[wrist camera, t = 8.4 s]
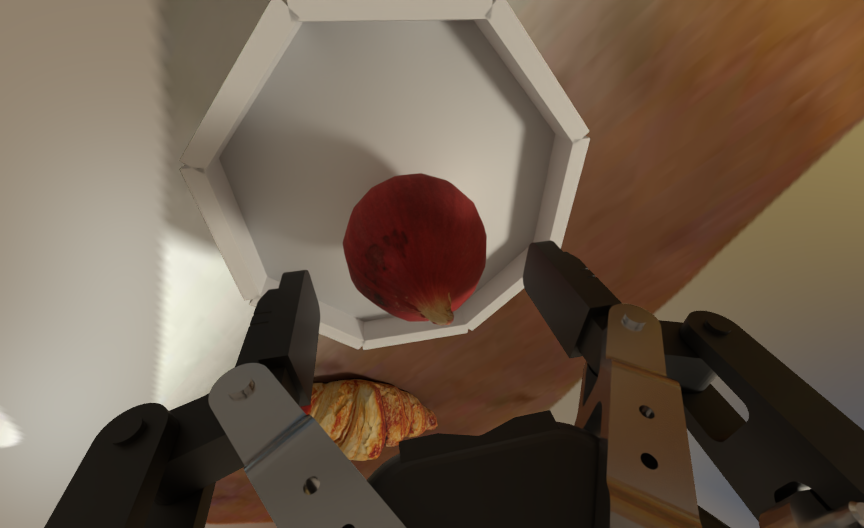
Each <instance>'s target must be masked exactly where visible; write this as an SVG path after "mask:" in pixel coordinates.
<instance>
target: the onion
mask: <svg viewBox="0 0 864 528" xmlns="http://www.w3.org/2000/svg"><path fill="white" fill-rule="evenodd" d="M486 241H487V235H486V232H485V228H484V225H483V222H482V220H481V218H480V216H479V213H478V211H477V209H476V207H475V204H474V202H473V201H471V200H470V199H469V198H468V197H467V196H466V195H465V194H463V193H462V192H461V191H460V190H459V189H458V188H457V187H456V186H454V185H453V184H452V183H450V182H449V181H447V180H444V179H440V178H437V177H433V176H430V175H426V174H423V173H418V174H408V175H398V176H394V177H392V178H390V179H388V180H386V181H384V182H382V183H380V184H378V185H376V186H374V187H372V188H371V189H370V190H369V191H368V192H367V193H366V194H365V195H364V196H363V198H362V199H361V200H360V201H359V202H358V203H357V204H356V205H355V206H354V208H353V210H352V213H351V215H350V218H349V222H348V225H347V229H346V232H345V236H344V239H343V249H344V254H345V258H346V262H347V266H348V270H349V273H350V277H351V280H352V282H353V284H354V286H355V287H356V289H357V290H358V291H359V292H360V293H361V294H362V295H363V296H364V297H366V298H367V299H368V300H370V301H371V302H372V303H374V304H375V305H376V306H378V307H380V308H381V309H383V310H384V311H386V312H387V313H389V314H391V315H393V316H395V317H398V318H400V319H403V320H406V321H409V322H421V321H429V320H430V321H431V322H432V323H433V324H437V325H441V326H442V325H449V324H451V323H452V322H453V320H454V314H453V311H455V310H457V309H458V308H459V307H460V306H461V305H462V304H463V303H464V302H465V301H466V300H467V299H468V298H469V297H470V296H471V295H472V293H473V292H474V291H475V289H476V286H477V284H478V282H479V280H480V278H481V275H482V273H483V271H484V268H485V264H486Z"/></svg>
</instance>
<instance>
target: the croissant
mask: <svg viewBox="0 0 864 528" xmlns="http://www.w3.org/2000/svg"><path fill="white" fill-rule="evenodd" d="M300 408H301V409H302V410H303V411H304V413H305V414H306V415H308V414H309V415H311V416H312V417H313V418H314V419H315V420H316V421H317V422H318V423H319V425H320V426H321V427H322V428H323V429H324V431H325V432H326V433H327V434H328V435H329V436H330V438H331V439H332V440H333V441H334V442H335V444H336V445H337V446H338V447H339V448H340V450H341V451H342V452H343V453H344V454H345V455H346V457H347V458H348V459H349V460H360V461H365V460H368V459H376V458H377V457H379V455H380V453H381V451H382V449H383V447H384V446H387V447H388V446H390V447H393V446H396V445H398V444H399V441H402V439H403V438H404V437H406V436H408V437H414V436H418V435H420V434H422V433H423V432H424V431H425V430H433V429H435V428H436V426H437V425H438V423H437V419H436V416H435V415H434V413H433V412H432V411H431V410H429V409H428V408H426V407H425V406H423V405H422V404H421V403H420V402H419V400H418V399H417V398H416V397H414V396H413V395H412V394H409V393H408V392H405V391H401V390H400V389H398V388H397V387H395V386H393V385H389V384H383V383H375V382H372V381H366V380H361V379H351V380H340V381H334V382H331V383H328V384H323V383H313V387H312V396H311V404H310V405H306V406H301V407H300Z"/></svg>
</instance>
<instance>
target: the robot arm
mask: <svg viewBox="0 0 864 528" xmlns="http://www.w3.org/2000/svg"><path fill="white" fill-rule="evenodd" d="M523 285H524V288H525V290H526V292H527V293H528V295H529V296H530V298H531V300H532V301H533V303H534V304H535V306H536V307H537V309H538V310H539V312H540V313H541V315H542V316H543V318H544V320H545V321H546V323H547V324H548V326H549V327H550V329H551V330H552V332H553V333H554V335H555V336H556V338H557V340H558V341H559V343H560V344H561V346H562V347H563V349H564V350H565V352H566V353H567V355H568V356H569V358H574V357H580V356H583V357H584V358H585V360H586V363H585V365H584V369H583V377H582V385H581V393H580V402H579V408H578V414H577V419H576V422H575V425H574V426H573V425H570V424H566V423H561V422H556V421H555V419H554V417H553V415H552V414H551V411H550V410H548V411H543V412H539V413H534V414H529V415H524V416H519V417H515V418H513V419H511V420H509V421H507V422H505V423H504V424H502V425H500V426H498V427H496V428H494V429H493V430H491V431H489V432H487V433H485V434H483V435H480V436H470V435H454V434H439V433H438V434H433V435H428V436H423V437H418V438H413V439H409V440H404V441H399V450H400V453H399V454H398V455H396V456H394V457H392V458H390V459H389V460H388V461H386V462H385V463H383V464H382V465H381V466H380V467H379V468H378V469H377V470H375V471H374V472H373V474H372V475H371V476H370V477H369V478H368V479H367V480H366V479H365V478H364V477H363V476H362V474H361V473H360V472H359V471H358V470H357V469H356V467H355V466H354V465H353V464H352V463H351V461H350V460H349V459H348V458H347V457H346V455H345V454H344V453H343V452H342V451H341V450H340V448H339V447H338V446H337V445H336V444H335V442H334V441H333V440H332V439H331V438H330V436H329V435H328V434H327V433H326V432H325V431H324V429H323V428H322V427H321V426H320V425H319V423H318V422H317V421H316V420H315V419H314V418H313V417H312V416H311V415H309V414H308V415H306V414H305V413H304V411H303V410H302V409H301V408H300V407H301V406H306V405H310V404H311V396H312V387H313V378H314V369H315V361H316V352H317V343H318V335H319V326H320V308H319V303H318V299H317V296H316V293H315V290H314V286H313V283H312V280H311V277H310V274H309V272H308V270H300V271H292V272H284V273H283V274H282V277H281V281H280V284H279V288H277V289H269V290H268V291H267V292H266V293H265V294H264V295H263V296H262V297H261V298H260V300H259V301H258V303H257V306H256V308H255V311H254V316H253V317H252V320H251V323H250V327H249V328H248V331H247V334H246V337H245V340H244V343H243V346H242V349H241V351H240V354H239V357H238V360H237V363H236V366H235V368H233V369H231V370H229V371H228V372H226V373H225V374H224V375H223V376H221V377H220V378H219V379H218V380H217V381H216V383H215V384H214V385H213V387H212V389H211V391H210V393H209V394H207V395H205V396H203V397H201V398H199V399H196V400H194V401H191V402H189V403H187V404H184V405H182V406H180V407H177V408H175V409H173V410H170V411H168V410H167V409H166V408H165V407H164V406H163V405H161V404H158V403H147V404H142V405H138V406H136V407H133V408H131V409H129V410H127V411H125V412H123V413H122V414H120V415H119V416H117V417H116V418H114V419H113V420H112V421H111V422H109V423H108V424H107V425H106V426H105V427H104V428H103V429H102V430H101V431H100V433H99V434H98V435H97V436H96V438H95V439H94V441H93V442H92V444H91V446H90V448H89V450H88V451H87V453H86V455H85V457H84V458H83V460H82V462H81V464H80V466H79V467H78V469H77V471H76V472H75V474H74V476H73V478H72V479H71V481H70V483H69V485H68V486H67V488H66V490H65V492H64V494H63V495H62V497H61V499H60V501H59V502H58V504H57V506H56V508H55V509H54V511H53V513H52V515H51V517H50V518H49V520H48V522H47V524H46V525H45V527H44V528H204V527H205V524H206V520H207V516H208V512H209V508H210V504H211V499H212V495H213V491H214V487H215V483H216V481H218V480H220V479H222V478H224V477H226V476H227V475H229V474H231V473H233V472H235V471H237V470H239V469H241V468H243V467H244V470H245V472H246V474H247V476H248V478H249V480H250V482H251V483H252V485H253V487H254V488H255V490H256V492H257V494H258V495H259V497H260V499H261V500H262V502H263V504H264V506H265V507H266V509H267V511H268V513H269V514H270V516H271V518H272V519H273V521H274V523H275V524H276V526H277V528H730V527H729V526H727V525H726V524H724V523H723V522H721V521H720V520H718V519H717V518H716V517H714V516H713V515H711V514H710V513H708V512H707V511H705V510H704V509H703V508H701V507H700V506H698V505H697V498H696V491H695V484H694V477H693V471H692V464H691V456H690V449H689V442H688V435H687V429H688V430H689V431H690V433H691V434H692V435H693V437H694V438H695V439H696V441H697V442H698V443H699V444H700V446H701V447H702V448H703V450H704V451H705V452H706V454H707V455H708V456H709V457H710V459H711V460H712V461H713V463H714V464H715V465H716V467H717V468H718V469H719V471H720V472H721V473H722V475H723V476H724V477H725V478H726V480H727V481H728V482H729V484H730V485H731V486H732V488H733V489H734V490H735V491H736V493H737V494H738V495H739V497H740V498H741V499H742V501H743V502H744V503H745V504H746V506H747V507H748V508H749V510H750V511H751V512H752V514H753V515H754V516H755V517H756V519H757V520H758V521H759V526H760V528H864V430H862V429H861V428H860V427H859V426H858V425H856V424H855V423H854V422H853V421H852V420H850V419H849V418H848V417H847V416H846V415H844V414H843V413H842V412H841V411H839V410H838V409H837V408H836V407H835V406H834V405H832V404H831V403H830V402H829V401H828V400H826V399H825V398H824V397H823V396H822V395H821V394H819V393H818V392H817V391H816V390H815V389H813V388H812V387H811V386H810V385H809V384H807V383H806V382H805V381H804V380H803V379H801V378H800V377H799V376H798V375H797V374H795V373H794V372H793V371H792V370H790V369H789V368H788V367H787V366H786V365H785V364H783V363H782V362H781V361H780V360H779V359H777V358H776V357H775V356H774V355H773V354H771V353H770V352H769V351H767V349H765V348H764V347H763V346H762V345H761V344H759V343H758V342H757V341H756V340H755V339H753V338H752V337H751V336H750V335H749V334H747V333H746V332H745V331H743V329H741V328H740V327H739V326H738V325H737V324H735V323H734V322H732V321H731V320H729V319H727V318H725V317H723V316H721V315H718V314H715V313H712V312H707V311H694V312H691V313H690V314H689V315H688V317H687V318H686V320H685V321H684V323H680V322H670V321H660V320H658V319H657V318H656V317H655V316H654V315H653V314H651V313H650V312H648V311H647V310H645V309H643V308H641V307H639V306H635V305H632V304H622V303H621V302H620V301H619V300H618V299H617V298H616V297H615V296H614V295H613V294H612V292H611V291H610V290H609V289H608V288H607V287H606V286H605V285H604V284H603V283H602V282H601V281H600V280H599V279H598V278H597V277H596V278H595V275H594V274H593V273H592V272H591V271H590V270H588V268H587V267H586V266H585V265H584V264H583V263H582V261H581V260H580V259H578V258H577V257H575V256H573V255H571V254H570V253H568V252H563V251H562V250H561V249H560V248H559V247H558V246H557V245H556V243H555V242H553V241H551V240H550V241H541V242H533V243H531V244H530V245H529V248H528V252H527V257H526V262H525V267H524V272H523ZM717 375H718V376H719V377H720V378H721V379H722V380H723V381H724V382H725V383H726V385H727V386H729V388H730V389H731V390H732V391H733V392H734V393H735V394H736V395H737V396H738V397H739V398H740V399H741V400H742V401H743V402H744V403H745V405H746V407H747V409H748V411H749V419H748V421H747V422H745V420H744V419H743V418H742V417H741V416H740V415H739V414H738V413H737V412H736V411H735V410H734V408H733V407H732V406H731V405H730V404H729V403H728V402H727V401H726V400H725V399H724V398H723V397H722V396H721V395H720V393H719V392H718V391H717V390H716V389H715V388H714V387H713V386H712V385H711V384H710V383H711V382H712V381H713V380H714V379H715V377H716V376H717Z"/></svg>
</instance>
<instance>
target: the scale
mask: <svg viewBox="0 0 864 528" xmlns="http://www.w3.org/2000/svg"><path fill="white" fill-rule="evenodd" d="M588 132H589V130H588V128H587V126H586V125H585V123H584V122H583V120H582V119H581V117H580V115H579V114H578V112H577V111H576V109H575V108H574V106H573V104H572V103H571V101H570V100H569V98H568V97H567V95H566V93H565V92H564V90H563V89H562V87H561V86H560V84H559V82H558V81H557V79H556V78H555V76H554V75H553V73H552V71H551V70H550V68H549V67H548V65H547V64H546V62H545V60H544V59H543V57H542V56H541V54H540V53H539V51H538V49H537V48H536V46H535V45H534V43H533V42H532V40H531V38H530V37H529V35H528V34H527V32H526V31H525V29H524V27H523V26H522V24H521V23H520V21H519V20H518V18H517V16H516V15H515V13H514V12H513V10H512V9H511V7H510V5H509V4H508V2H507V1H506V0H271V1H270V3H269V4H268V6H267V8H266V10H265V11H264V13H263V15H262V17H261V18H260V20H259V22H258V24H257V25H256V27H255V29H254V31H253V32H252V34H251V36H250V38H249V39H248V41H247V43H246V45H245V46H244V48H243V50H242V52H241V53H240V55H239V57H238V59H237V60H236V62H235V64H234V66H233V67H232V69H231V71H230V73H229V74H228V76H227V78H226V80H225V81H224V83H223V85H222V87H221V88H220V90H219V92H218V94H217V95H216V97H215V99H214V101H213V102H212V104H211V106H210V108H209V109H208V111H207V113H206V115H205V116H204V118H203V120H202V122H201V123H200V125H199V127H198V129H197V130H196V132H195V134H194V136H193V137H192V139H191V141H190V143H189V144H188V146H187V148H186V150H185V151H184V153H183V155H182V157H181V158H180V160H179V161H181V162H183V163H184V164H185V165H184V166H183V167H181V168H180V171H181V173H182V176H183V178H184V180H185V182H186V184H187V186H188V188H189V190H190V192H191V194H192V196H193V198H194V200H195V202H196V204H197V206H198V208H199V210H200V212H201V214H202V216H203V218H204V220H205V222H206V224H207V226H208V228H209V230H210V232H211V234H212V236H213V238H214V240H215V242H216V245H217V247H218V249H219V251H220V253H221V255H222V257H223V259H224V261H225V263H226V265H227V267H228V269H229V271H230V273H231V275H232V277H233V279H234V281H235V283H236V285H237V287H238V289H239V291H240V293H241V295H242V297H243V299H244V300H251V301H250V304H249V305H251V306H254V307H256V306H257V303H258V301H259V300H260V298H261V297H262V296H263V295H264V294H265V293H266V292H267V291H268V290H269V289H277V288H279V284H280V281H281V277H282V274H283V273H284V272H292V271H300V270H308V272H309V274H310V277H311V280H312V283H313V286H314V290H315V293H316V296H317V299H318V303H319V308H320V326H319V334H322V335H324V336H327V337H329V338H331V339H334V340H336V341H339V342H341V343H344V344H346V345H348V346H351V347H353V348H356V349H359V348H360V347H361V346H362V345H363V350H367V349H373V348H379V347H385V346H391V345H397V344H403V343H409V342H415V341H421V340H427V339H433V338H439V337H445V336H451V335H457V334H463V333H467V332H468V329H470V330H474V329H475V328H476V327H477V326H478V325H480V324H481V323H482V322H483V321H484V320H486V319H487V318H488V317H489V316H491V315H492V314H493V313H494V312H495V311H497V310H498V309H499V308H500V307H502V306H503V305H504V304H505V303H506V302H508V301H509V300H510V299H511V298H512V297H514V296H515V295H516V294H517V293H519V292H520V291H521V290H522V289H523V288H524V285H523V272H524V267H525V262H526V257H527V252H528V248H529V245H530V244H531V243H533V242H541V241H550V240H551V241H553V242H555V243H556V245H557V246H558V247H559V248H560V249H561V245H562V241H563V238H564V234H565V230H566V227H567V223H568V219H569V215H570V212H571V208H572V204H573V201H574V197H575V193H576V189H577V186H578V182H579V178H580V175H581V171H582V167H583V163H584V160H585V156H586V152H587V149H588V145H589V141H590V138H589V137H587V136H585V135H586V134H587V133H588ZM418 173H423V174H426V175H430V176H433V177H437V178H440V179H444V180H447V181H449V182H450V183H452V184H453V185H454V186H456V187H457V188H458V189H459V190H460V191H461V192H462V193H463V194H465V195H466V196H467V197H468V198H469V199H470V200H471V201H473V202H474V204H475V207H476V209H477V211H478V213H479V216H480V218H481V220H482V222H483V225H484V228H485V232H486V235H487V241H486V264H485V268H484V271H483V273H482V275H481V278H480V280H479V282H478V284H477V286H476V289H475V291H474V292H473V293H472V295H471V296H470V297H469V298H468V299H467V300H466V301H465V302H464V303H463V304H462V305H461V306H460V307H459V308H458V309H457V310H455V311H453V314H454V320H453V322H452V323H451V324H449V325H442V326H441V325H437V324H433V323H432V322H431V321H430V320H429V321H421V322H409V321H406V320H403V319H400V318H398V317H395V316H393V315H391V314H389V313H387V312H386V311H384V310H383V309H381V308H380V307H378V306H376V305H375V304H374V303H372V302H371V301H370V300H368V299H367V298H366V297H364V296H363V295H362V294H361V293H360V292H359V291H358V290H357V289H356V287H355V286H354V284H353V282H352V280H351V277H350V273H349V270H348V266H347V262H346V258H345V254H344V249H343V239H344V236H345V232H346V229H347V225H348V222H349V218H350V215H351V213H352V210H353V208H354V206H355V205H356V204H357V203H358V202H359V201H360V200H361V199H362V198H363V196H364V195H365V194H366V193H367V192H368V191H369V190H370V189H371V188H372V187H374V186H376V185H378V184H380V183H382V182H384V181H386V180H388V179H390V178H392V177H394V176H398V175H408V174H418Z"/></svg>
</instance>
